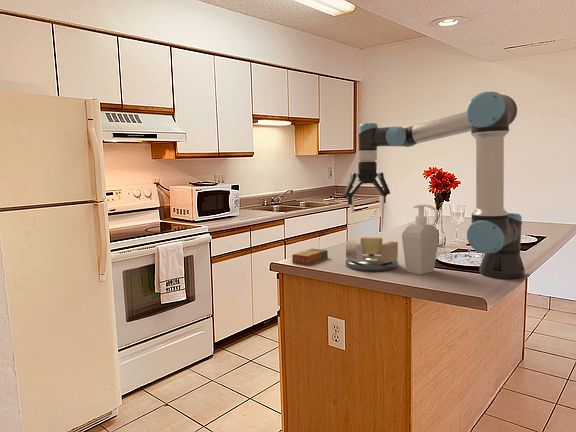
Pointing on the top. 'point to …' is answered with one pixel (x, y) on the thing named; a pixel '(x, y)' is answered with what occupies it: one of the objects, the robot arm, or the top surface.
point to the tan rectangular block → (389, 252)
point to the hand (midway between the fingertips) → (366, 211)
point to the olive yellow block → (371, 245)
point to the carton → (309, 256)
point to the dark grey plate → (371, 264)
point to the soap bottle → (420, 244)
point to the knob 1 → (354, 251)
